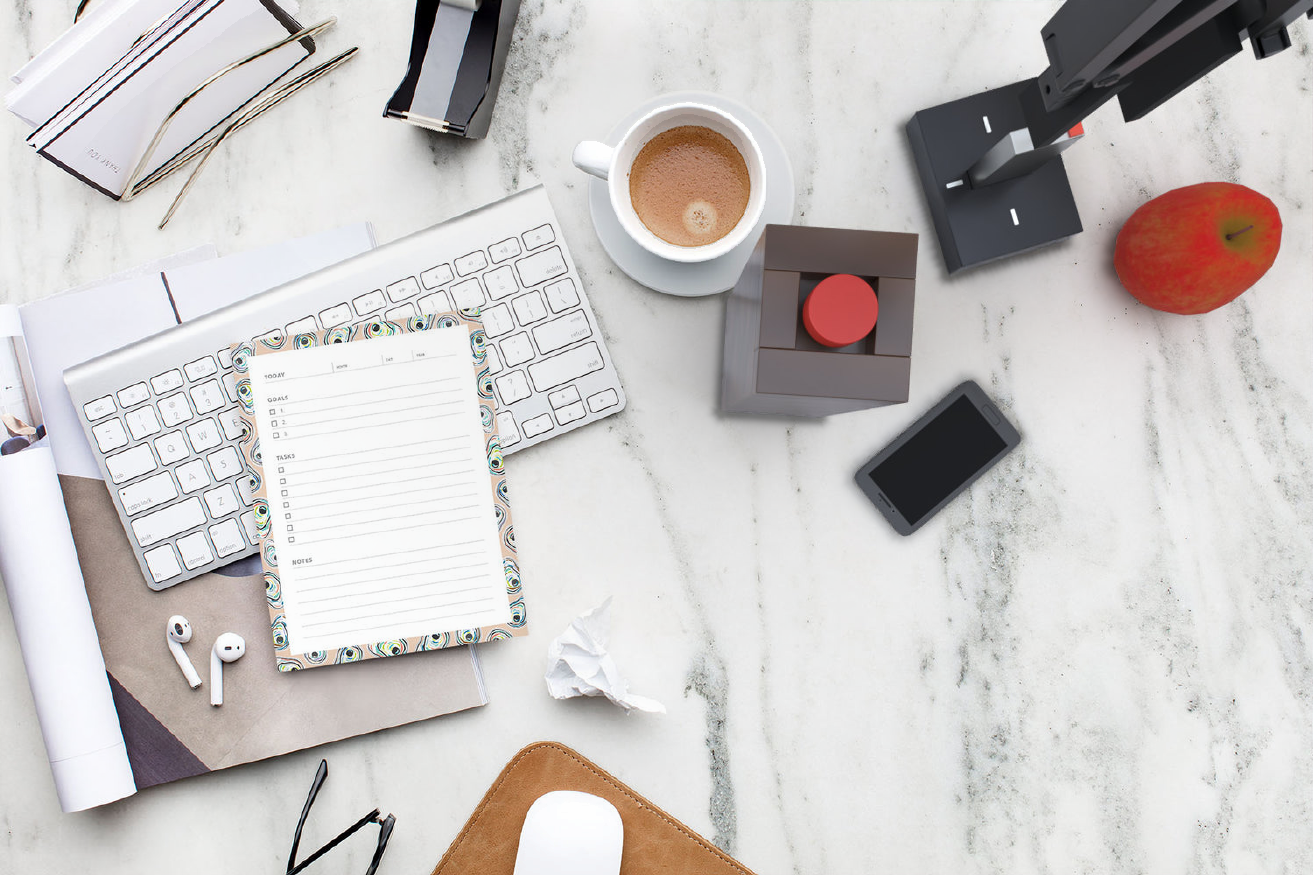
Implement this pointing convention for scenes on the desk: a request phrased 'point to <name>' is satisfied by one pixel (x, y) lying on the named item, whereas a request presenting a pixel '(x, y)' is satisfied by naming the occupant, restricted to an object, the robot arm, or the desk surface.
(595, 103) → the desk surface
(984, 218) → the panel
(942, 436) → the cell phone
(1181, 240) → the apple
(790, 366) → the block
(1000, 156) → the stove knob
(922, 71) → the desk surface
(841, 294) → the button
